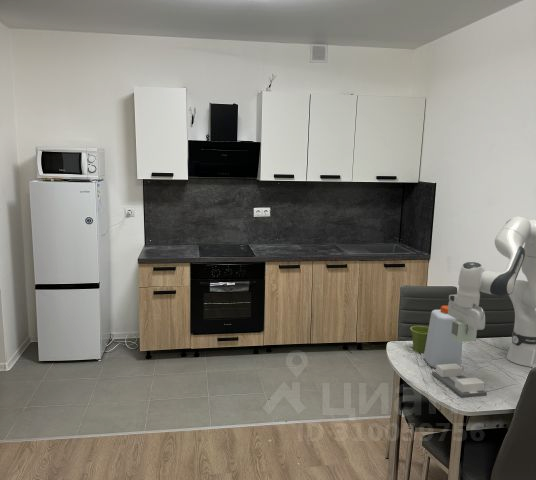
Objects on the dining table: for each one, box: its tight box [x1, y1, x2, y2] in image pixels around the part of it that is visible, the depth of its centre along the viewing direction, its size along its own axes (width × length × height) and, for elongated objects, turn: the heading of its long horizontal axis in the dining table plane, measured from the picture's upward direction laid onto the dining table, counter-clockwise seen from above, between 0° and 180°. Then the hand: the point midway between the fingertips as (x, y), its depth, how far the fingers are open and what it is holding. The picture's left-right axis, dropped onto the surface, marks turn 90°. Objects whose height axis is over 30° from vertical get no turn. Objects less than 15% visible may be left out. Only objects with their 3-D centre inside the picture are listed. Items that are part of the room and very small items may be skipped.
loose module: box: [451, 320, 478, 343], centre depth 201 cm, size 9×4×8 cm, turn 104°
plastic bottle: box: [423, 305, 463, 369], centre depth 224 cm, size 15×15×28 cm
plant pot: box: [409, 325, 429, 354], centre depth 240 cm, size 12×12×11 cm
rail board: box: [431, 364, 488, 399], centre depth 204 cm, size 12×21×5 cm, turn 14°
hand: (463, 332), depth 201 cm, fingers closed on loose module, 4 cm apart
